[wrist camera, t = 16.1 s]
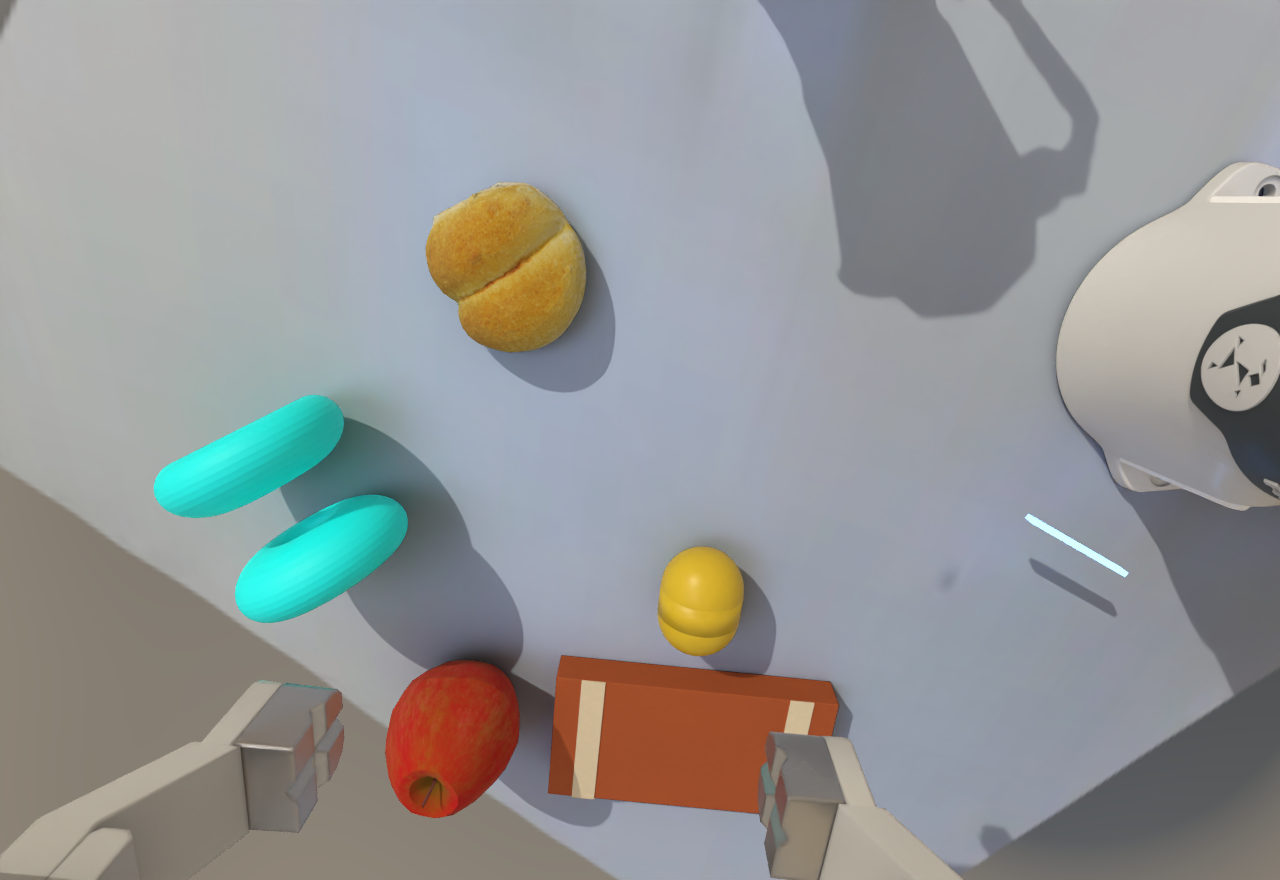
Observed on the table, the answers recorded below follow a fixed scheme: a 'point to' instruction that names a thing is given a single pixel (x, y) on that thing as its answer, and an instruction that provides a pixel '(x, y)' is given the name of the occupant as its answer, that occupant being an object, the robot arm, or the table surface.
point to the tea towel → (674, 731)
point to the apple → (451, 736)
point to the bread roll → (509, 266)
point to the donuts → (308, 551)
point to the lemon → (700, 601)
